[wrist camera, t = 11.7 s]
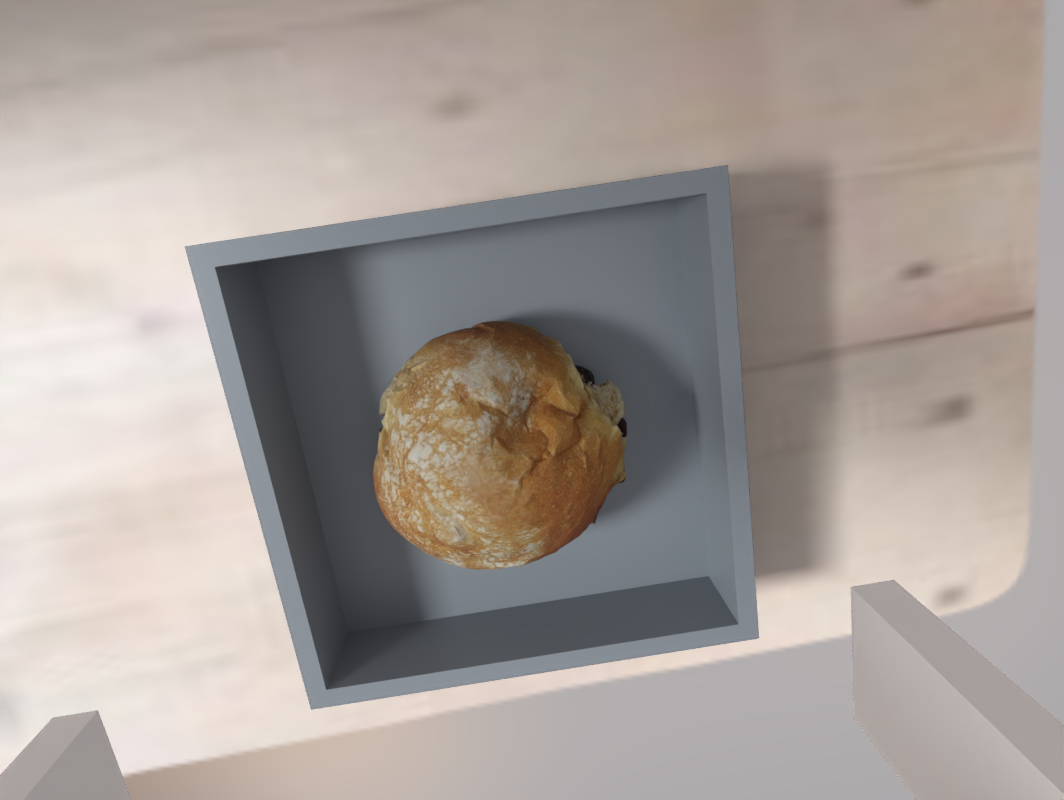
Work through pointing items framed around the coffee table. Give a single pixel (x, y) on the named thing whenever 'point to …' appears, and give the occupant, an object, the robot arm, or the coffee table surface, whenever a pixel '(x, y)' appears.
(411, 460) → the bread roll
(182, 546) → the coffee table surface
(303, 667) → the grey tray
